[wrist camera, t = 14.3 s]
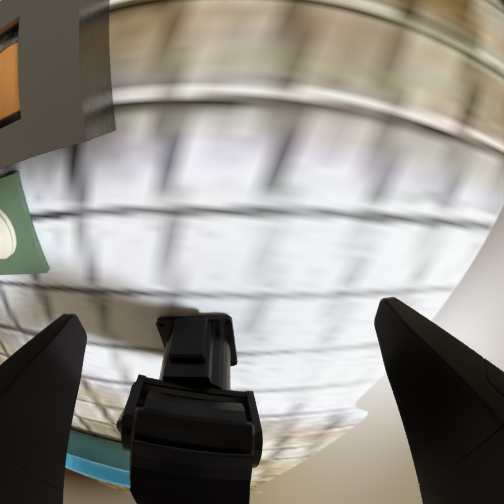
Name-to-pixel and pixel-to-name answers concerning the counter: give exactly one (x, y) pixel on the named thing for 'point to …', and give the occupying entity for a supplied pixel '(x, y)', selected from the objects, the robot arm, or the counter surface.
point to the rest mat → (20, 230)
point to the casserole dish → (98, 458)
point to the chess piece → (6, 236)
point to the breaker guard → (58, 75)
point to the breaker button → (9, 82)
